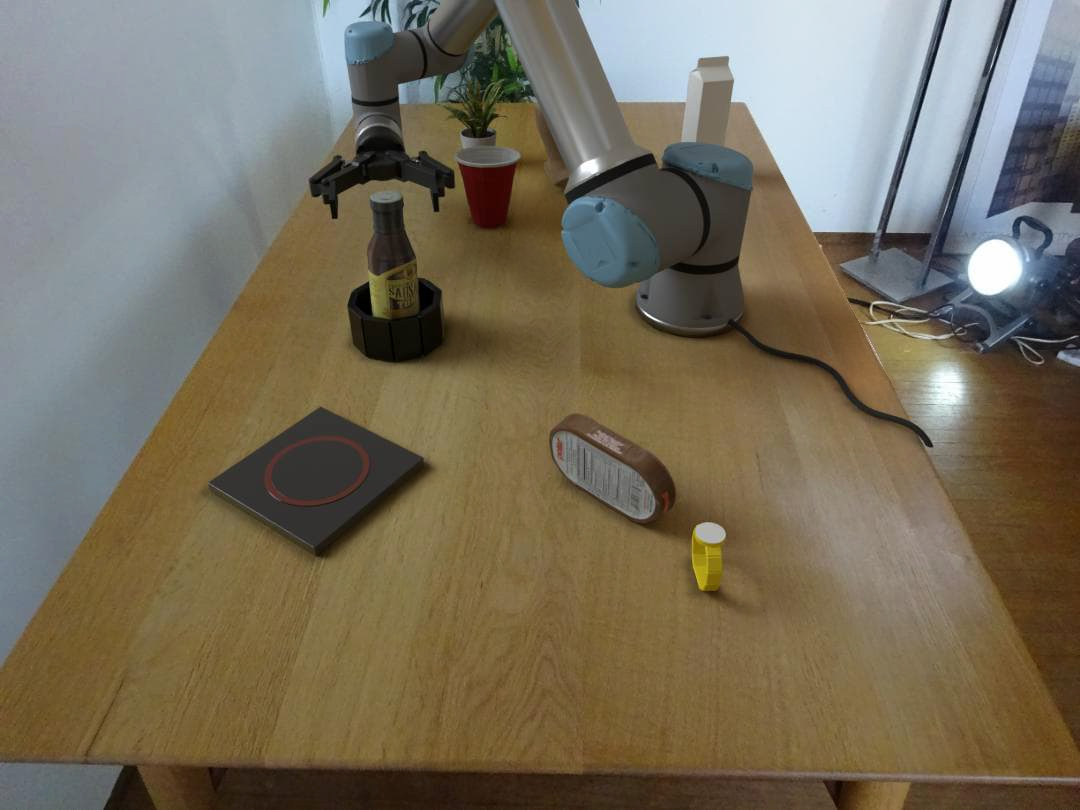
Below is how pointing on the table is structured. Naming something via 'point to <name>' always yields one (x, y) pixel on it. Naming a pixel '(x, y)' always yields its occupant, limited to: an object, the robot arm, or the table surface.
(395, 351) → the bottle holder
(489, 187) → the plastic cup
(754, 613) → the table surface
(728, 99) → the milk
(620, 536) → the table surface
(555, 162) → the clay boot vase
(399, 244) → the sauce bottle
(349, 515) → the hob plate
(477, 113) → the house plant
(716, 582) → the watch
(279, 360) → the table surface
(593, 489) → the tin
